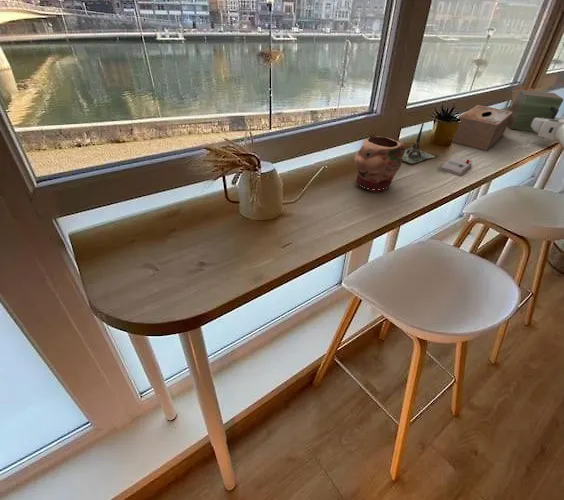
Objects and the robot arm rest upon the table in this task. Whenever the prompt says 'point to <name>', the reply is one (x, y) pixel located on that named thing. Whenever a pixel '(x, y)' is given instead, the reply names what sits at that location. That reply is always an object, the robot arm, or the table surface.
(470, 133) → the tissue box cover
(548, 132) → the robot arm
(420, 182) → the table surface
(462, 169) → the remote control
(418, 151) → the eiffel tower figurine
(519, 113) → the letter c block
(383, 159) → the decorative planter
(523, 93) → the green door cabinet
